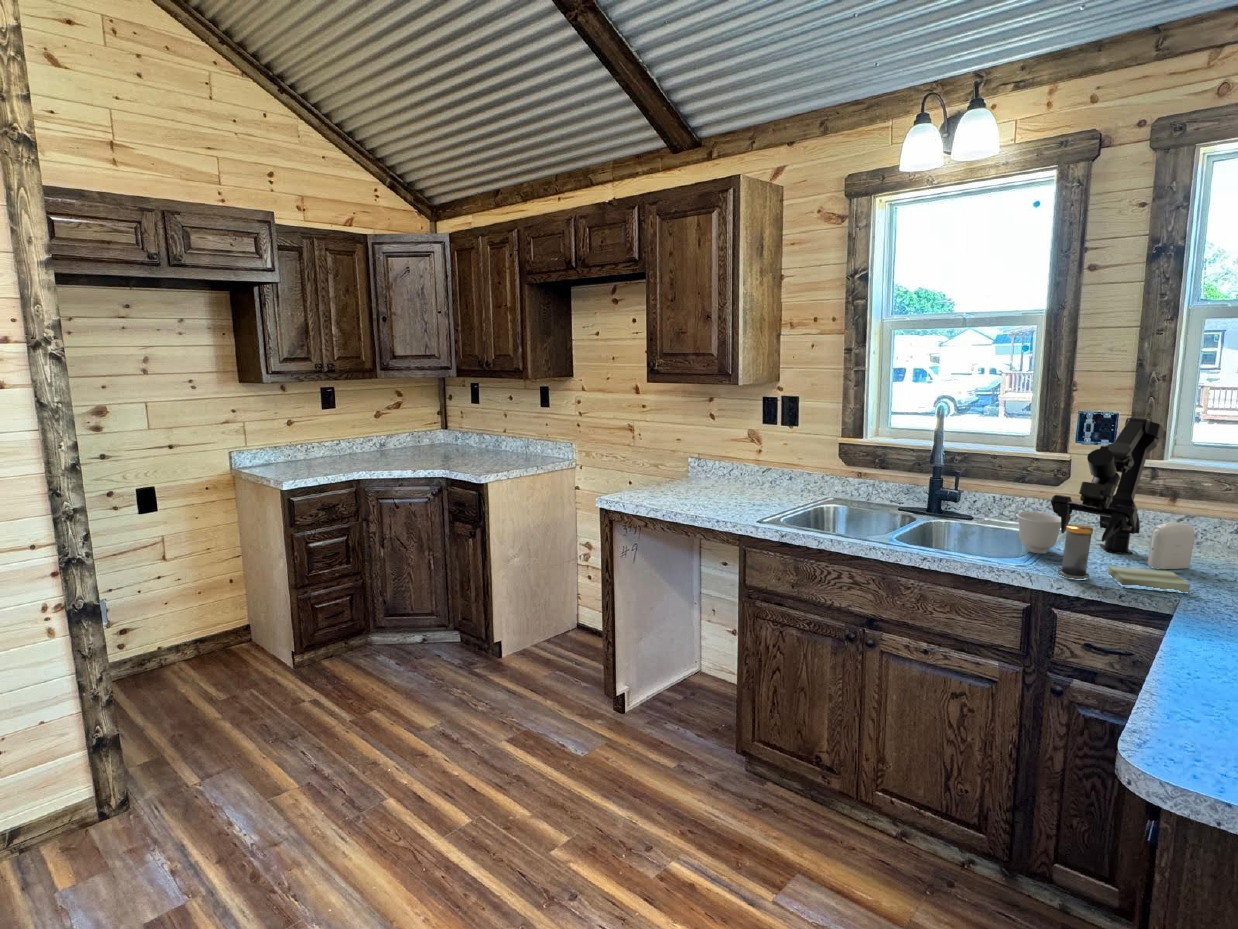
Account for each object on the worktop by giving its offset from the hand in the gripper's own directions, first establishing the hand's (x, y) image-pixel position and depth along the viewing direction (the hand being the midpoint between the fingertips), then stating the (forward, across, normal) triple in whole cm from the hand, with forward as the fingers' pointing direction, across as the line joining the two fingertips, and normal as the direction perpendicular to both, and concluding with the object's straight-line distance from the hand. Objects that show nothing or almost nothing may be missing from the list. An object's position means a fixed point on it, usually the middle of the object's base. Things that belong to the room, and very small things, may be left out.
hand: (1081, 536), depth 187 cm
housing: (+9, 0, +5) cm, 11 cm away
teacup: (-3, -15, +18) cm, 23 cm away
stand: (+4, +14, +11) cm, 18 cm away
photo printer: (-11, +14, +25) cm, 31 cm away
